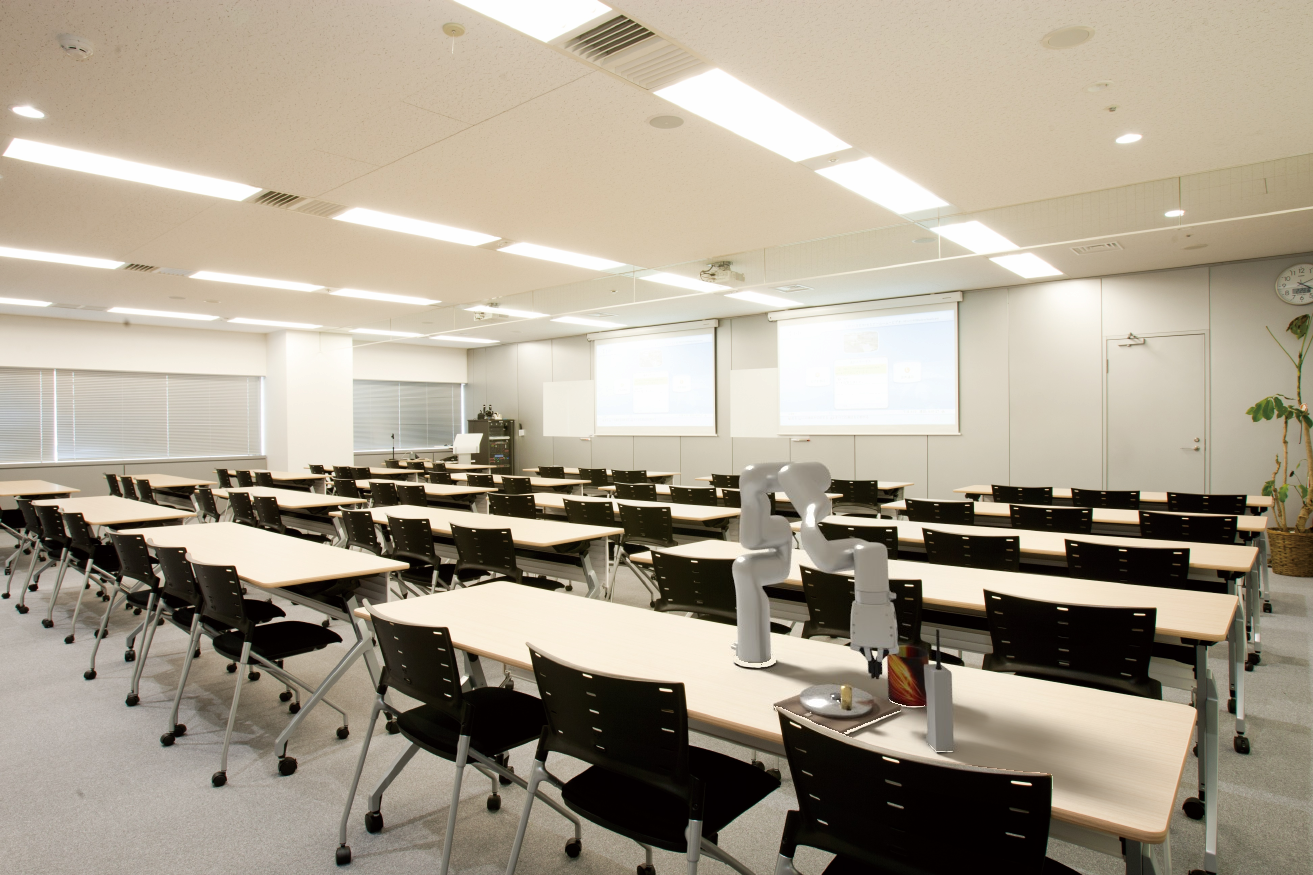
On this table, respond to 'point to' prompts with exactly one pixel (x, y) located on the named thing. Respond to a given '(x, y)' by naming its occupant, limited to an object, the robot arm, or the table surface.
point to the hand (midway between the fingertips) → (875, 676)
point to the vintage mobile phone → (939, 704)
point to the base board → (840, 724)
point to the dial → (836, 701)
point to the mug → (907, 676)
